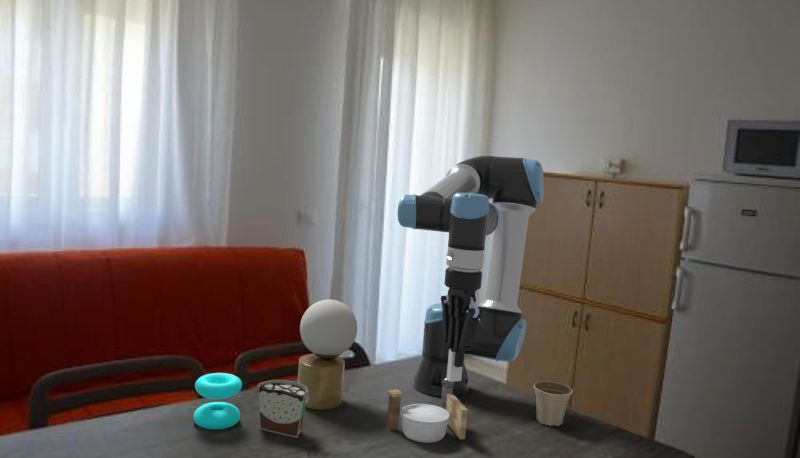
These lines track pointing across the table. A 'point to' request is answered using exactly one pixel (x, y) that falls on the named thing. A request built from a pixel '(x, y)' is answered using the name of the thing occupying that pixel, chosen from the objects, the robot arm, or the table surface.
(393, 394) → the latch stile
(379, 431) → the table surface
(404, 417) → the ramekin
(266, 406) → the food container
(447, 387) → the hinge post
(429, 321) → the robot arm
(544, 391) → the flower pot
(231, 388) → the donuts
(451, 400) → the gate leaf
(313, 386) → the lamp
